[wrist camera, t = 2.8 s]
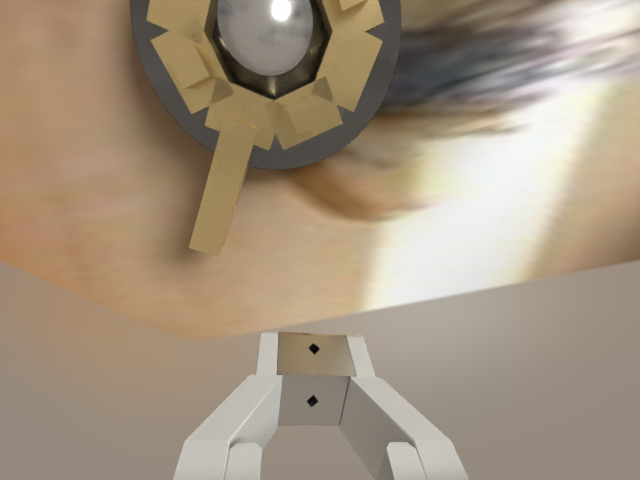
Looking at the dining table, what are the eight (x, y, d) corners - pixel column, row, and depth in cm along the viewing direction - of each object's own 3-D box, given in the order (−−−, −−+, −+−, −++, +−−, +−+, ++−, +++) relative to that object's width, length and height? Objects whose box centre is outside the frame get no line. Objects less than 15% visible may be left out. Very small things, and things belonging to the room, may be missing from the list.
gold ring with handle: (192, -152, 16) (171, -205, 13) (405, -30, 19) (426, -52, 16) (126, 211, 23) (103, 229, 20) (286, 261, 26) (286, 283, 23)
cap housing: (429, -33, 21) (501, -96, 14) (334, 189, 27) (350, 226, 20) (59, -251, 16) (-125, -522, 9) (38, 78, 22) (-85, 72, 15)
